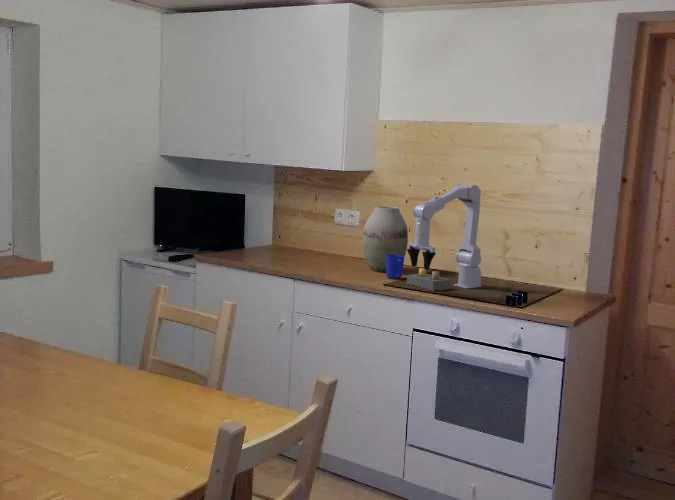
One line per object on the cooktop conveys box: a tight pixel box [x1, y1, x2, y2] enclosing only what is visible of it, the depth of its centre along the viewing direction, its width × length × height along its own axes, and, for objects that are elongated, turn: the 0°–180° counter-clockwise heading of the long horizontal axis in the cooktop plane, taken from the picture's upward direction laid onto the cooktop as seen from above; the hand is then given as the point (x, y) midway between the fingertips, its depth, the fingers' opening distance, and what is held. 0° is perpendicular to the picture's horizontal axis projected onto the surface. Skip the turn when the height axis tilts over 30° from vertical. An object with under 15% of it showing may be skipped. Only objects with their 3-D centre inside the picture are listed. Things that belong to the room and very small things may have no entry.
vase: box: [362, 205, 409, 273], centre depth 344 cm, size 21×21×30 cm
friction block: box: [406, 273, 452, 292], centre depth 309 cm, size 10×16×4 cm, turn 37°
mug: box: [385, 255, 405, 280], centre depth 324 cm, size 8×12×10 cm
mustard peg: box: [418, 267, 427, 277], centre depth 312 cm, size 3×3×4 cm
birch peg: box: [431, 270, 440, 280], centre depth 305 cm, size 3×3×4 cm
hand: (420, 267), depth 296 cm, fingers open, 7 cm apart
